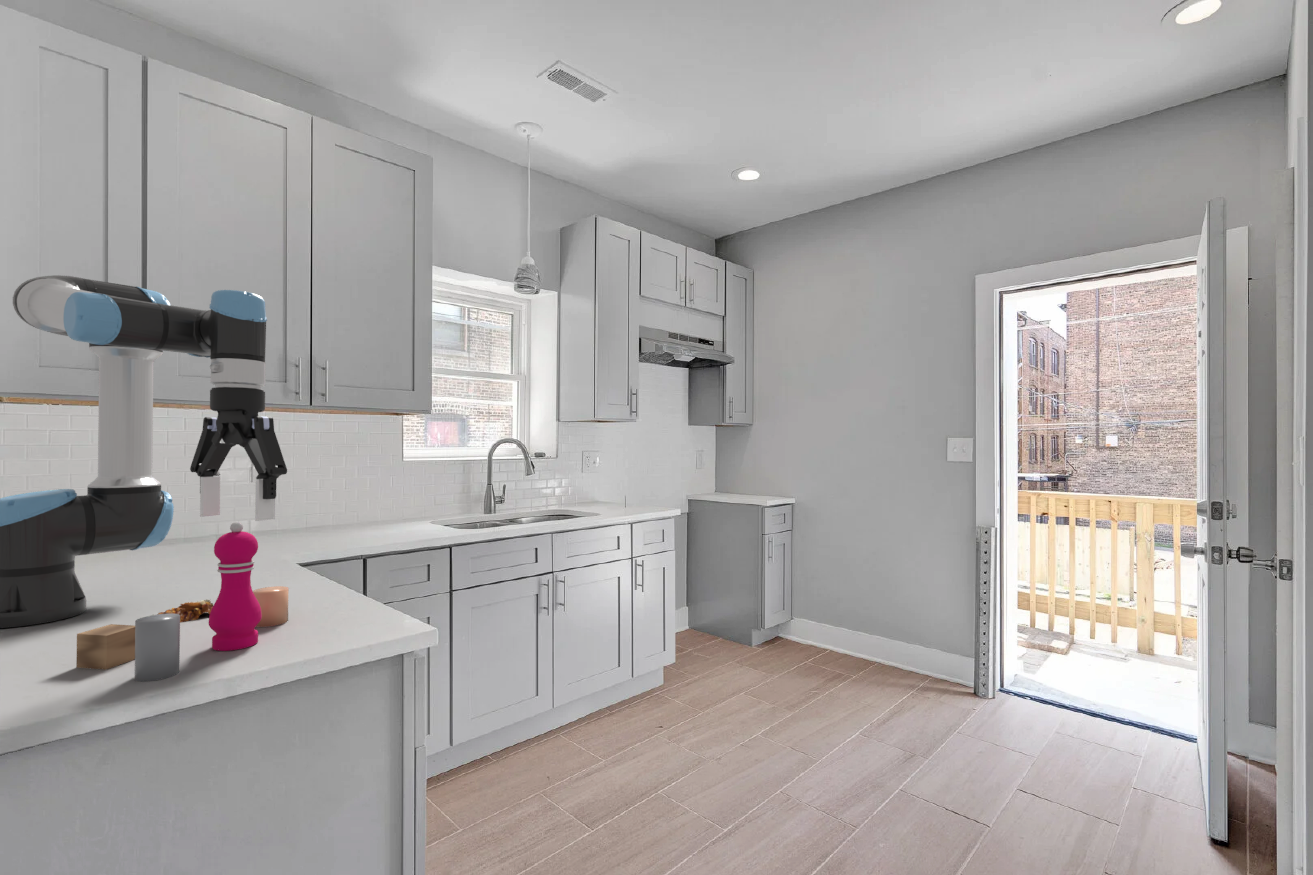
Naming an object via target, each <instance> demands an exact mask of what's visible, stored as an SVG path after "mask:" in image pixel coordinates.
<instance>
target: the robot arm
mask: <svg viewBox="0 0 1313 875" xmlns="http://www.w3.org/2000/svg"><path fill="white" fill-rule="evenodd" d="M12 306H13V309H14V311H15V314H16V315H17V316H18V318H20V319H21V320H22V321H23V322H24V323H26V324H28V325H29V326H30V327H32V328H35V329H38V330H40V331H44V332H47V333H50V334H55V335H58V336H59V335H60V336H65V337H69V338H70V339H71V340H73V341H76V342H81V343H87V344H89V345H88V348H89V351H91V353H93V354H94V355H95V356H97V358H98V368H99V369H98V420H97V421H98V426H97V427H98V428H97V429H98V432H97V433H98V434H97V435H98V437H97V438H98V439H97V476H96V478H95V479H94V480H92V481H91V482H90V483H89V484H88V485H87V494H86V495H78V493H77V492H76V490H75V489H72V488H63V489H62V488H60V489H59V488H58V489H52V490H50V489H48V490H47V489H46V490H43V491H42V490H41V491H39V490H38V491H31V492H26V493H20V494H14V495H9V496H4V497H1V498H0V629H3V628H5V629H6V628H16V627H26V626H34V625H41V624H45V623H49V622H50V623H52V622H55V621H56V622H57V621H60V620H61V621H62V620H65V619H68V618H72V617H75V616H77V615H81V614H83V613H84V612H86V611H87V597H86V595H85V592H84V590H83V588H82V586H81V583H80V581H79V579H78V576H77V574H76V570H75V568H76V565H75V563H76V562H75V560H76V557H77V556H86V555H95V554H102V553H103V554H104V553H111V552H112V553H113V552H119V551H120V552H121V551H128V550H129V551H136V550H139V549H145V548H146V549H147V548H151V547H152V548H153V547H155V546H158V545H160V543H162V542H163V541H164V540H165V538H166V537H167V536H168V534H169V532H170V530H171V527H172V523H173V519H174V508H175V506H174V503H173V497H172V495H171V494H170V493H169V492H168V491H165V490H162V482H160V481H159V480H158V479H156V478H155V477H154V475H153V442H154V441H153V439H154V438H153V431H154V428H153V427H154V426H153V425H154V420H153V419H154V362H155V360H157V359H159V358H160V357H161V356H163V353H164V352H172V353H179V354H180V353H182V354H187V355H189V356H191V357H197V358H202V357H203V358H209V359H210V365H209V369H210V384H212V385H213V386H214V387H212V388H211V389H210V390H209V409H210V410H211V411H214V412H217V417H213V416H212V417H211V416H210V417H209V416H205V417H204V418H203V420H202V421H203V422H202V431H201V435H200V436H199V439H198V443H197V447H196V449H195V451H194V452H195V453H194V455H193V458H192V462H191V465H190V468H189V470H190V472H191V473H195V474H196V475H197V476H198V477H199V495H200V498H199V499H200V500H199V514H200V515H199V516H200V517H213V516H220V515H221V510H220V509H221V473H220V472H219V470H220V468H221V466H222V465H223V463H224V462H225V459H226V458H227V456H228V454H229V452H230V451H231V449H232V448H233V447H235V446H236V445H238V446H240V447H242V448H243V449H244V451H245V452H246V455H247V456H248V458H249V459H250V462H251V463H252V465H253V467H254V468H255V470H256V473H257V476H255V503H254V504H255V511H254V512H255V518H254V520H255V522H260V521H262V522H263V521H272V520H275V519H276V498H277V479H279V477H281V476H283V475H287V473H288V469H287V466H286V462H285V459H284V456H283V454H282V449H281V447H280V444H279V440H278V437H277V435H276V432H275V423H274V422H275V421H274V418H273V417H272V416H259V413H263V412H264V411H265V410H266V391H264V389H262V388H263V387H265V386H266V385H267V384H266V380H267V379H266V375H267V374H266V369H267V368H266V346H267V344H266V343H267V342H266V341H267V337H266V336H267V321H268V318H267V313H266V301H265V300H264V298H263V297H262V296H260V294H259V295H258V294H256V293H254V292H249V291H244V290H235V289H233V290H232V289H219V290H215V291H213V292H212V294H211V299H210V303H209V309H210V310H206V309H205V310H203V309H196V308H191V307H184V306H178V305H177V306H176V305H171V303H170V301H169V299H168V298H167V297H166V296H165V295H164V294H162V293H161V292H159V291H156V290H151V289H147V288H142V287H140V286H133V285H125V284H120V283H116V282H115V283H112V282H107V281H102V280H101V281H100V280H95V279H89V278H84V277H83V278H82V277H77V276H73V275H72V276H71V275H59V274H58V275H44V276H37V277H34V278H30V279H27V280H25V281H24V282H22V283H20V284H19V285H18V286H17V288H16V289H15V291H14V293H13V295H12ZM163 351H164V352H163ZM276 466H277V467H276Z"/></svg>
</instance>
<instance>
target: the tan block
mask: <svg viewBox="0 0 1313 875" xmlns="http://www.w3.org/2000/svg"><path fill="white" fill-rule="evenodd" d="M134 659H135V624H134V625H133V624H132V625H131V624H130V625H129V624H112V623H110V624H107V625H103V626H100V627H95V628H93V629H89V630H86V631H82V632H79V633H76V660H75V662H76V666H75V667H76V669H90V668H91V670H93V669H94V670H104V671H105V670H109V669H112V668H114V667H117V666H120V664H121V665H123V664H127V663H128V662H132V661H135V660H134Z"/></svg>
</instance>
